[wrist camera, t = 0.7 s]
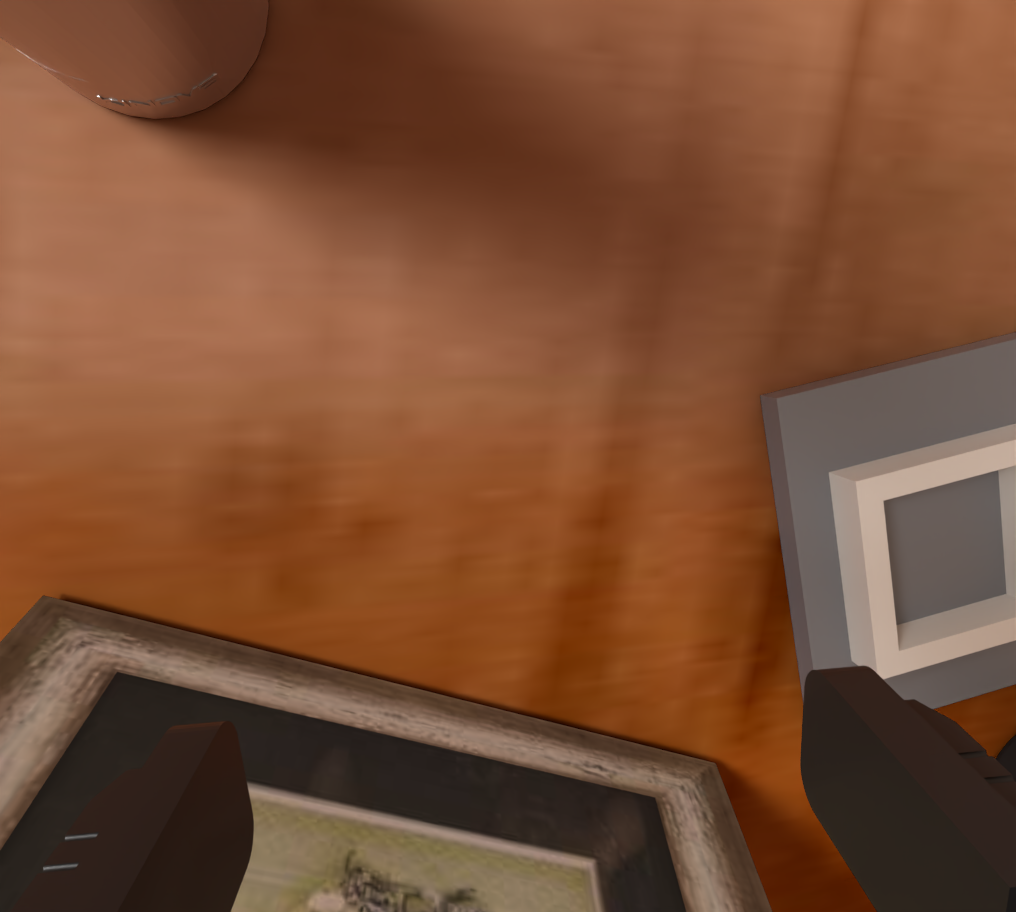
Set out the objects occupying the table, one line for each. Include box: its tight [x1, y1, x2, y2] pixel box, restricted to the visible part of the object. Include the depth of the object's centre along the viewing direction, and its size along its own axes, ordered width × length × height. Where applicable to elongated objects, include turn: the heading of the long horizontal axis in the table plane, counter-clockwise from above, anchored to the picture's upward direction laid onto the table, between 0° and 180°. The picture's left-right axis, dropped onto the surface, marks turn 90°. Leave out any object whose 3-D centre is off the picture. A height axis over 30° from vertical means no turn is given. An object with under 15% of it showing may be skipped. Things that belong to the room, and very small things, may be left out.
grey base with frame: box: [760, 332, 1016, 709], centre depth 33 cm, size 18×14×4 cm
